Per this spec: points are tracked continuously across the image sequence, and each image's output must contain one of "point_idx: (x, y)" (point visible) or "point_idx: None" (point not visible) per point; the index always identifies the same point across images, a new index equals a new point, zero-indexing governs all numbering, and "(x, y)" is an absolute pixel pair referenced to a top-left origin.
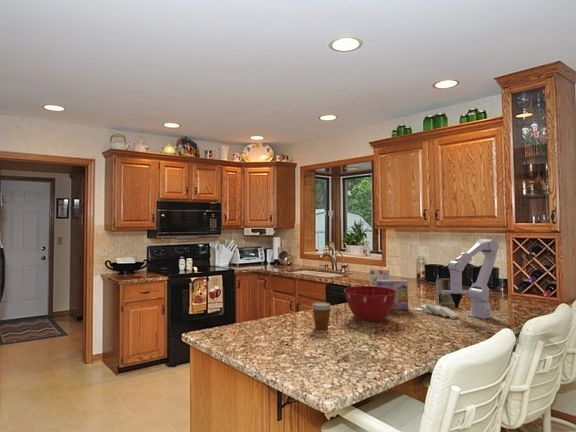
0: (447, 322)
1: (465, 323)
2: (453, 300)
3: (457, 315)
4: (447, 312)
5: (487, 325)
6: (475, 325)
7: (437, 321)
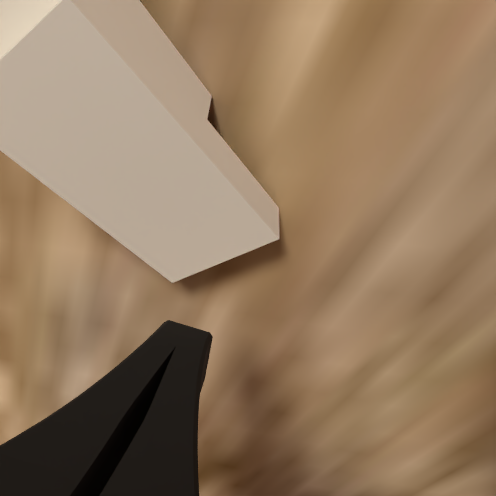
0: (93, 357)
1: (242, 411)
2: (69, 424)
3: (249, 250)
4: (99, 222)
5: (408, 491)
6: (298, 467)
7: (11, 316)
